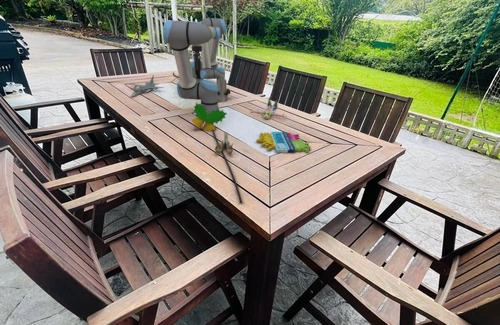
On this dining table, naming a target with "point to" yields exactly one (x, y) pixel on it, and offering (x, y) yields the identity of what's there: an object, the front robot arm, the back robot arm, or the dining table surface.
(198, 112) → the ornament
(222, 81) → the bottle
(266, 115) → the toy
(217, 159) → the dining table surface
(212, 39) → the back robot arm
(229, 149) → the jawbone
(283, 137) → the sign
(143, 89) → the airplane
